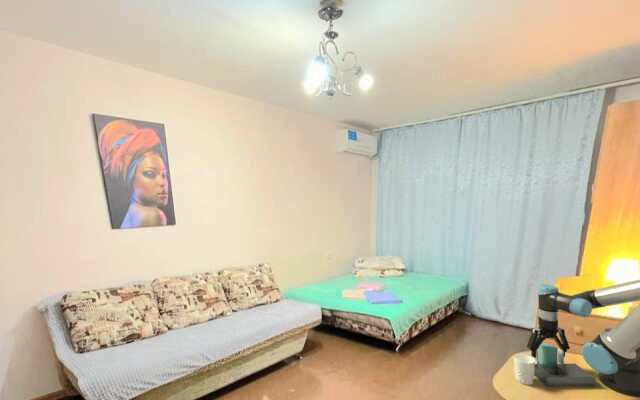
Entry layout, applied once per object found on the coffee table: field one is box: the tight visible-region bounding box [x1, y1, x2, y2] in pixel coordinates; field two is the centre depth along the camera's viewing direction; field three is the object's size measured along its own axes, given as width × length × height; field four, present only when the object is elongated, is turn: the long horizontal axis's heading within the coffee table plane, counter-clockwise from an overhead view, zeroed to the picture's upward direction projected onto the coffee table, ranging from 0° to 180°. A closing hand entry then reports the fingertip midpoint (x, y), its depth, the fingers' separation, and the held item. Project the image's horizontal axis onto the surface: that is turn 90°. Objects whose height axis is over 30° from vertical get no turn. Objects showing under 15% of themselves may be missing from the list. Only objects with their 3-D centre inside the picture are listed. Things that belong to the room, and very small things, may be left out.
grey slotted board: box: [534, 363, 595, 388], centre depth 136 cm, size 20×10×4 cm, turn 89°
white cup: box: [513, 353, 535, 386], centre depth 136 cm, size 8×8×10 cm
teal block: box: [538, 342, 558, 364], centre depth 145 cm, size 5×5×10 cm
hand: (548, 363), depth 145 cm, fingers open, 11 cm apart
